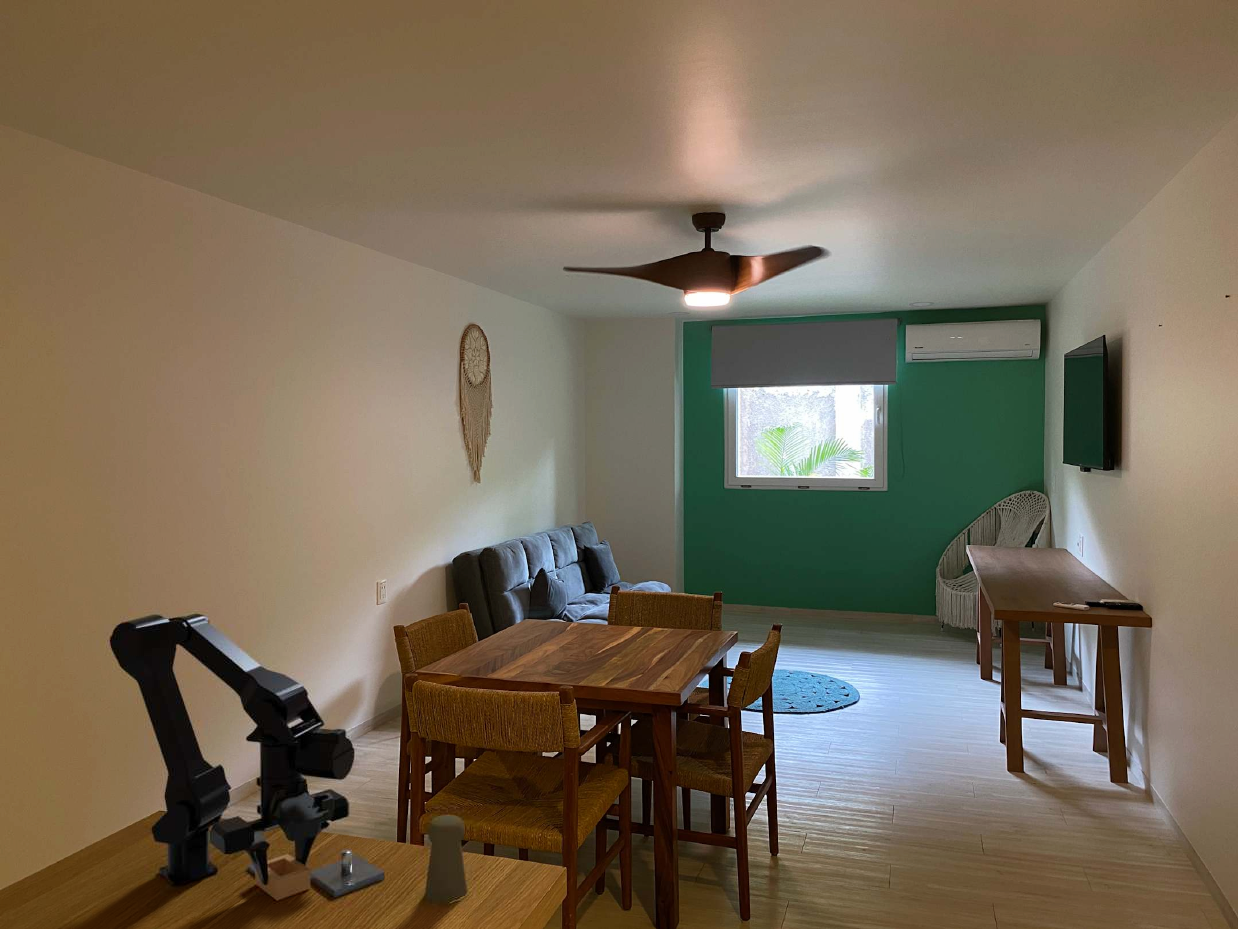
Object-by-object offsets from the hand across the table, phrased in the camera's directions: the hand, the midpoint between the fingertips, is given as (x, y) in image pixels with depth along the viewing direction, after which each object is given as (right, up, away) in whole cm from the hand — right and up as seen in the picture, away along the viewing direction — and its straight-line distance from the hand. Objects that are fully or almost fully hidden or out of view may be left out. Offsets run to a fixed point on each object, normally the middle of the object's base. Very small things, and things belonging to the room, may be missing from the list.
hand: (282, 878), depth 136 cm
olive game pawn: (+24, -2, -1) cm, 24 cm away
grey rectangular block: (-5, -1, +5) cm, 7 cm away
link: (0, -1, 0) cm, 1 cm away
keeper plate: (+9, -1, +3) cm, 9 cm away
